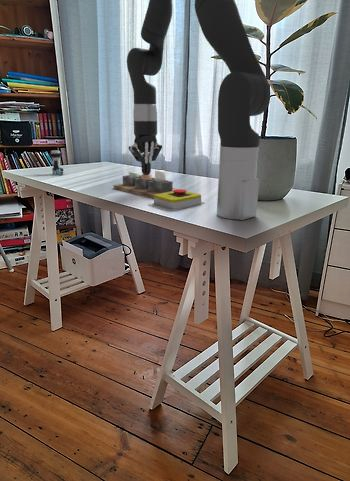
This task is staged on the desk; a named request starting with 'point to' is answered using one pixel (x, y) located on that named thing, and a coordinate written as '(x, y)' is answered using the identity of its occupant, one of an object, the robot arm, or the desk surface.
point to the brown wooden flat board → (144, 186)
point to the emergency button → (176, 200)
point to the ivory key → (160, 176)
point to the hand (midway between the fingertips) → (146, 174)
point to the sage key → (133, 174)
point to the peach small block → (146, 177)
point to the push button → (56, 162)
